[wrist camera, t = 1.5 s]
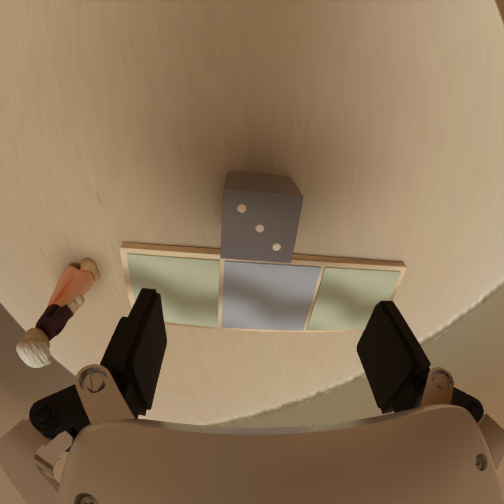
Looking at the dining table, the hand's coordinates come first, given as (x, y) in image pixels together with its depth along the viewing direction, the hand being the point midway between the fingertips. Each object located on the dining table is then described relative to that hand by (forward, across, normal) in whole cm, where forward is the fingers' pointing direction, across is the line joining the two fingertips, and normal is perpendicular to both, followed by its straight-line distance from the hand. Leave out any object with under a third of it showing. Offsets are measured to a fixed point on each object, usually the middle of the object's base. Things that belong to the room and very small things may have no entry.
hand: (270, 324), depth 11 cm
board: (+13, -2, +8) cm, 16 cm away
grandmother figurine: (+14, +18, +8) cm, 24 cm away
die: (+13, 0, -1) cm, 13 cm away
